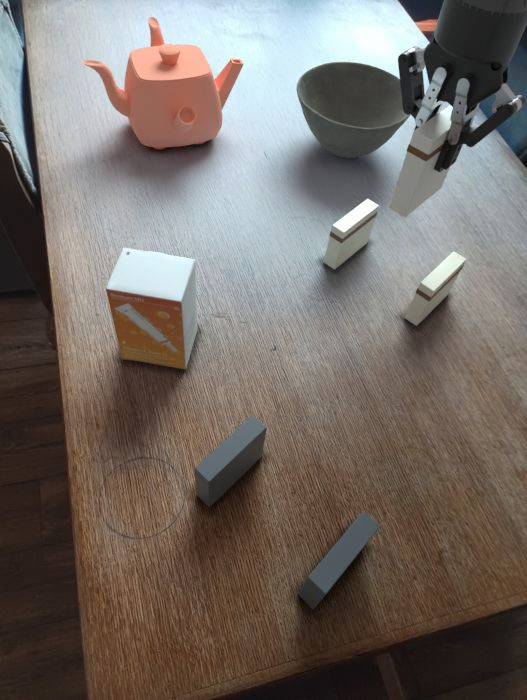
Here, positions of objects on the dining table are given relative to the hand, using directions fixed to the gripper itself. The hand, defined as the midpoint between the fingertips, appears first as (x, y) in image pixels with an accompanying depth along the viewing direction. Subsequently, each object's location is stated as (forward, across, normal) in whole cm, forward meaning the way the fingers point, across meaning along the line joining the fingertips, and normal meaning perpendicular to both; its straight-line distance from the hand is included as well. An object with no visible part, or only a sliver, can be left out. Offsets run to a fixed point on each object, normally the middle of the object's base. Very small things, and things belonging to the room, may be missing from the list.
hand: (429, 161), depth 61 cm
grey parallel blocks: (+19, -12, +36) cm, 42 cm away
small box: (+20, +13, +30) cm, 38 cm away
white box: (+5, 0, 0) cm, 5 cm away
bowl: (+20, +23, -20) cm, 36 cm away
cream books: (+19, 0, 0) cm, 19 cm away
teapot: (+20, +46, -1) cm, 50 cm away
